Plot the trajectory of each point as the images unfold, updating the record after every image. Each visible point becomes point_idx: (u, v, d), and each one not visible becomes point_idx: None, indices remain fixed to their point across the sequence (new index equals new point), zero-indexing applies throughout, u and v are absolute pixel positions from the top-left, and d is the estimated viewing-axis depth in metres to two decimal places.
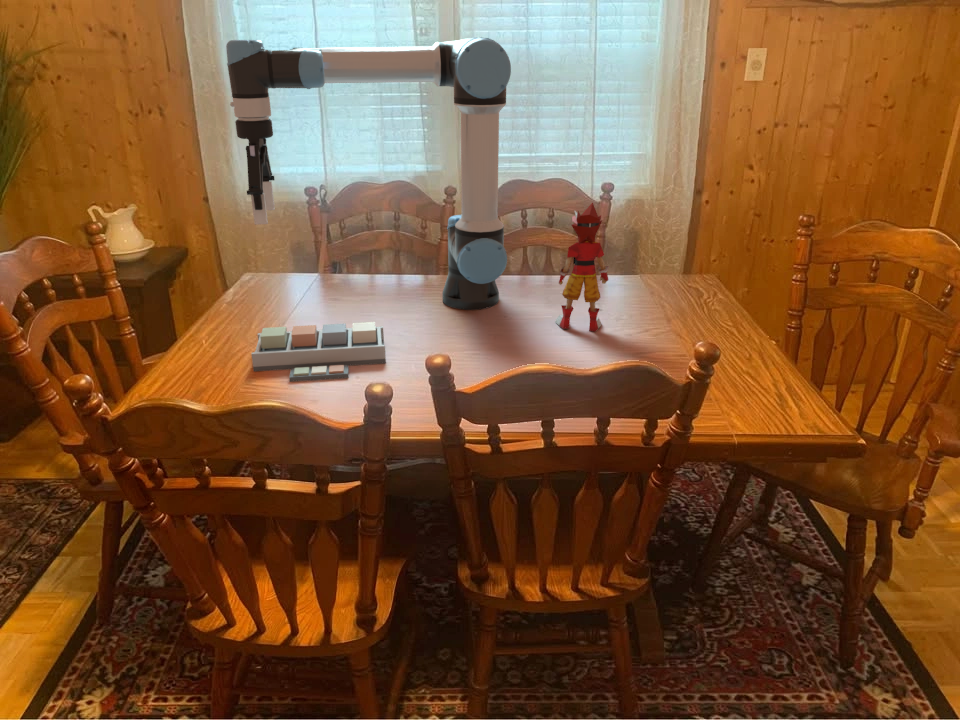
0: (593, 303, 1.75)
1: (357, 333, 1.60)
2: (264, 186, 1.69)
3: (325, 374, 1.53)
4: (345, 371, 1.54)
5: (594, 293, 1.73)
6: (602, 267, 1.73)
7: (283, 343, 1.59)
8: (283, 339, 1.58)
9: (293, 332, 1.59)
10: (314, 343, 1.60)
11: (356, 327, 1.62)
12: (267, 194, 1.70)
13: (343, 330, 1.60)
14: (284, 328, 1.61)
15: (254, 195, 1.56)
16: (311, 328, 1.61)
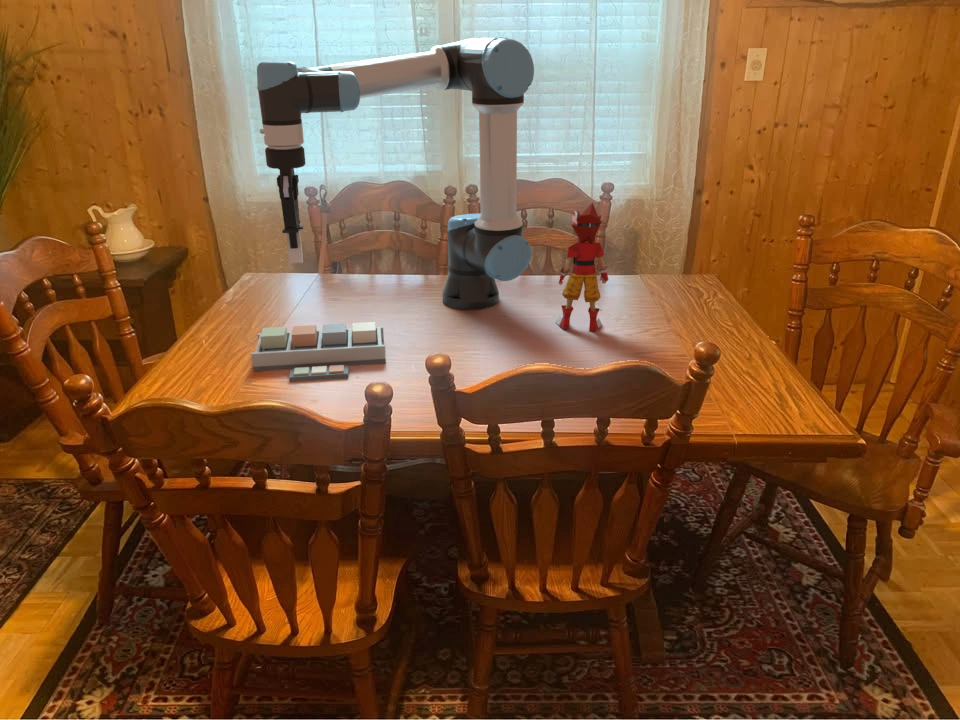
0: (593, 303, 1.75)
1: (357, 333, 1.60)
2: None
3: (325, 374, 1.53)
4: (345, 371, 1.54)
5: (594, 293, 1.73)
6: (602, 267, 1.73)
7: (283, 343, 1.59)
8: (283, 339, 1.58)
9: (293, 332, 1.59)
10: (314, 343, 1.60)
11: (356, 327, 1.62)
12: None
13: (343, 330, 1.60)
14: (284, 328, 1.61)
15: (290, 233, 1.50)
16: (311, 328, 1.61)
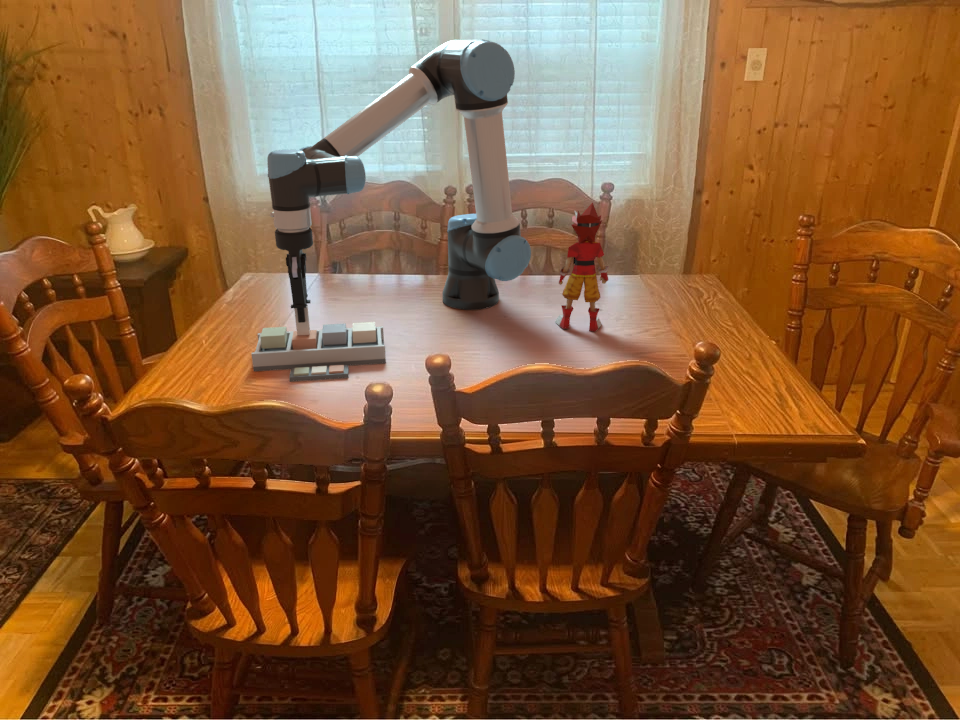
0: (593, 303, 1.75)
1: (357, 333, 1.60)
2: None
3: (325, 374, 1.53)
4: (345, 371, 1.54)
5: (594, 293, 1.73)
6: (602, 267, 1.73)
7: (283, 343, 1.59)
8: (283, 339, 1.58)
9: (294, 337, 1.60)
10: (314, 348, 1.60)
11: (356, 327, 1.62)
12: None
13: (343, 330, 1.60)
14: (284, 328, 1.61)
15: (298, 309, 1.56)
16: (311, 333, 1.62)
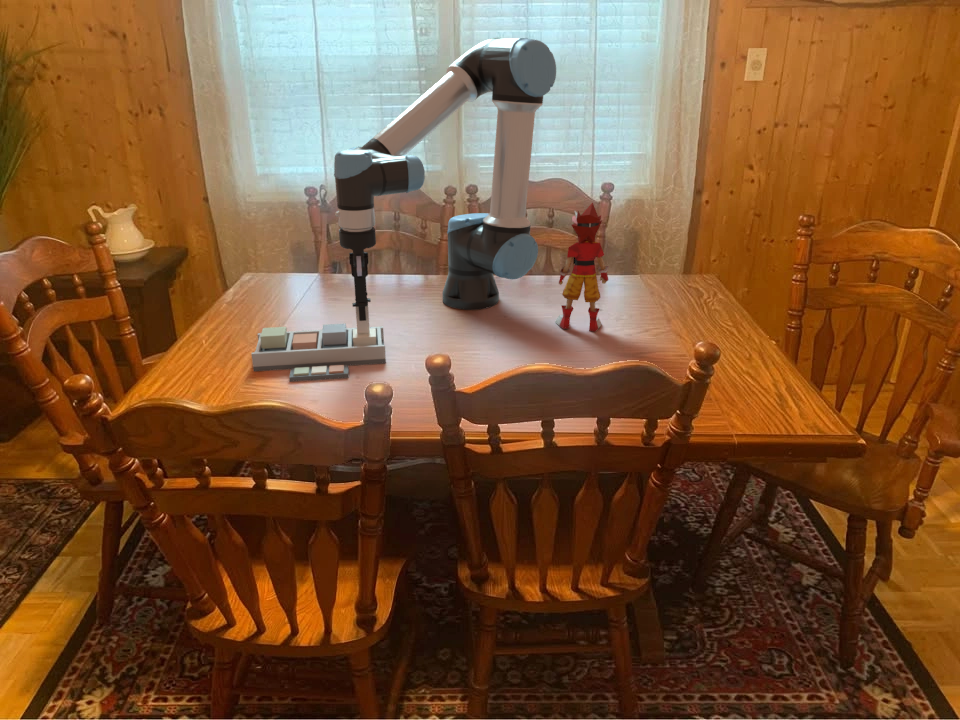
0: (593, 303, 1.75)
1: (358, 339, 1.61)
2: None
3: (325, 374, 1.53)
4: (345, 371, 1.54)
5: (594, 293, 1.73)
6: (602, 267, 1.73)
7: (283, 343, 1.59)
8: (283, 339, 1.58)
9: (294, 340, 1.60)
10: None
11: (356, 333, 1.63)
12: None
13: (343, 330, 1.60)
14: (284, 328, 1.61)
15: (359, 307, 1.58)
16: (312, 337, 1.62)
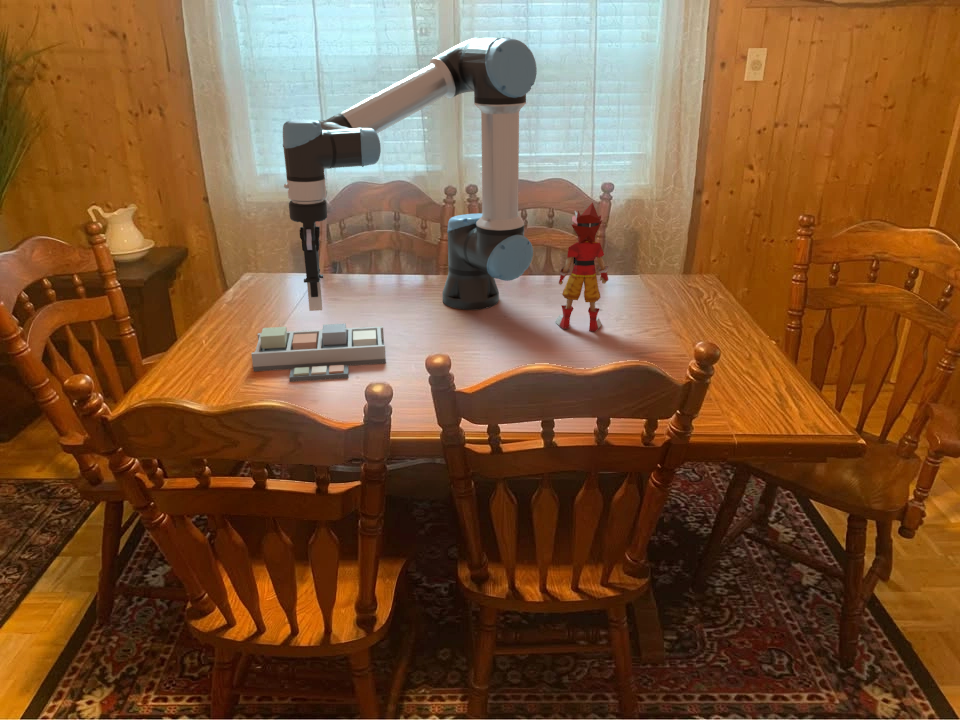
0: (593, 303, 1.75)
1: (358, 341, 1.61)
2: None
3: (325, 374, 1.53)
4: (345, 371, 1.54)
5: (594, 293, 1.73)
6: (602, 267, 1.73)
7: (283, 343, 1.59)
8: (283, 339, 1.58)
9: (294, 340, 1.60)
10: None
11: (357, 335, 1.63)
12: None
13: (343, 330, 1.60)
14: (284, 328, 1.61)
15: (311, 283, 1.54)
16: (312, 337, 1.62)
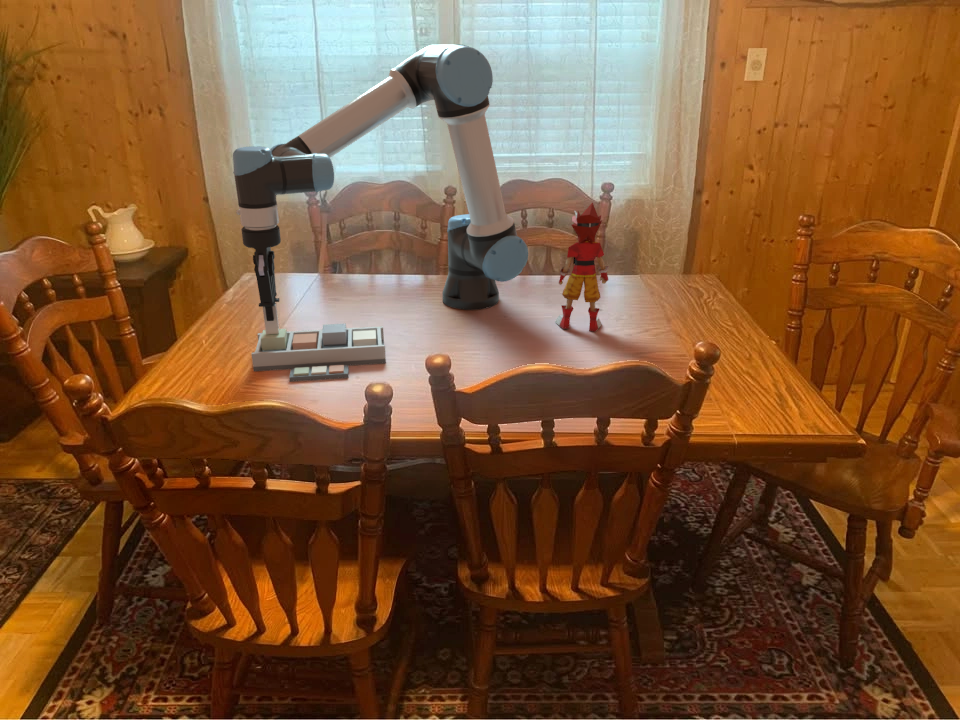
0: (593, 303, 1.75)
1: (358, 341, 1.61)
2: None
3: (325, 374, 1.53)
4: (345, 371, 1.54)
5: (594, 293, 1.73)
6: (602, 267, 1.73)
7: (283, 345, 1.59)
8: (283, 341, 1.58)
9: (294, 340, 1.60)
10: None
11: (357, 335, 1.63)
12: None
13: (343, 330, 1.60)
14: (284, 330, 1.62)
15: (266, 307, 1.55)
16: (312, 337, 1.62)
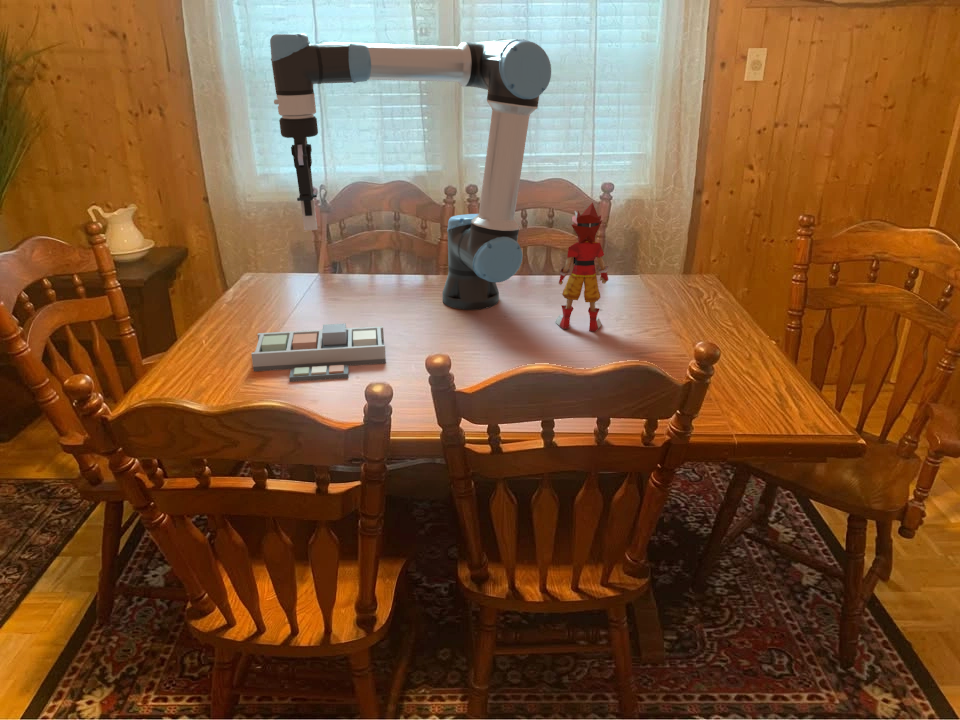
0: (593, 303, 1.75)
1: (358, 341, 1.61)
2: None
3: (325, 374, 1.53)
4: (345, 371, 1.54)
5: (594, 293, 1.73)
6: (602, 267, 1.73)
7: None
8: (284, 347, 1.59)
9: (294, 340, 1.60)
10: None
11: (357, 335, 1.63)
12: None
13: (343, 330, 1.60)
14: (285, 336, 1.62)
15: (304, 201, 1.56)
16: (312, 337, 1.62)
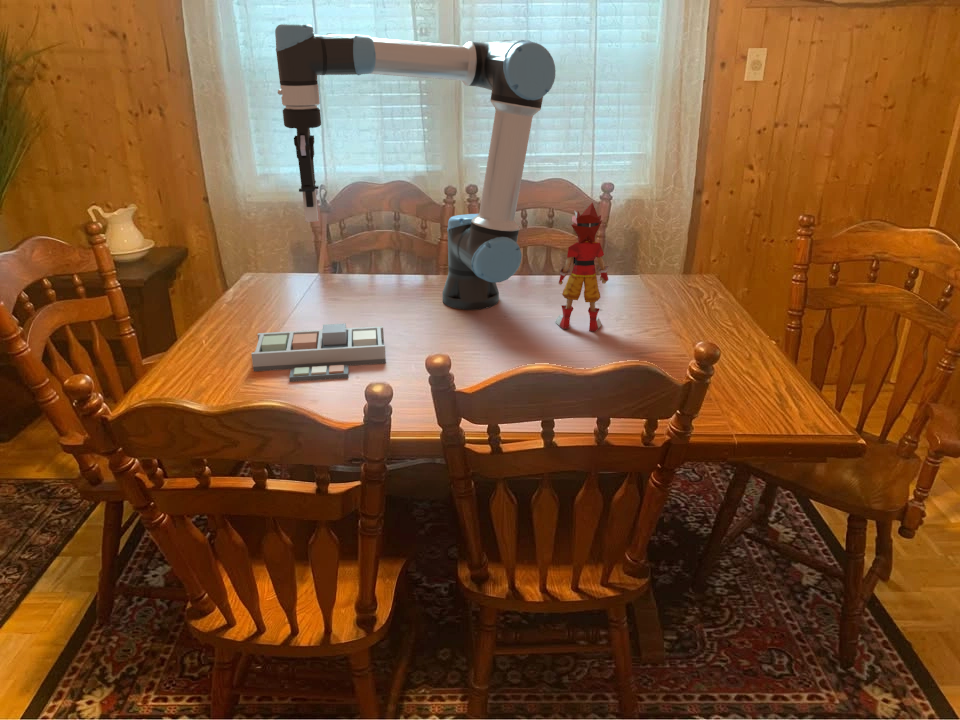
0: (593, 303, 1.75)
1: (358, 341, 1.61)
2: None
3: (325, 374, 1.53)
4: (345, 371, 1.54)
5: (594, 293, 1.73)
6: (602, 267, 1.73)
7: None
8: (284, 347, 1.59)
9: (294, 340, 1.60)
10: None
11: (357, 335, 1.63)
12: None
13: (343, 330, 1.60)
14: (285, 336, 1.62)
15: (306, 192, 1.56)
16: (312, 337, 1.62)
